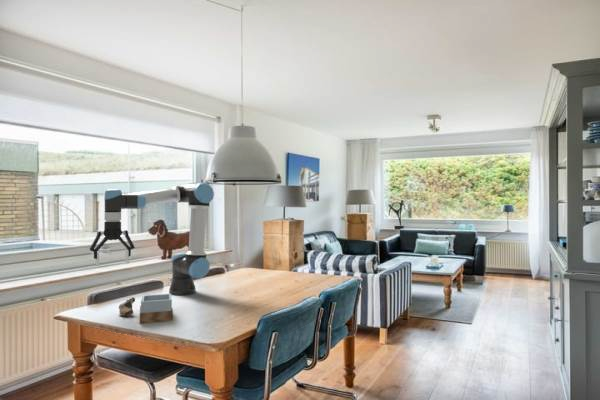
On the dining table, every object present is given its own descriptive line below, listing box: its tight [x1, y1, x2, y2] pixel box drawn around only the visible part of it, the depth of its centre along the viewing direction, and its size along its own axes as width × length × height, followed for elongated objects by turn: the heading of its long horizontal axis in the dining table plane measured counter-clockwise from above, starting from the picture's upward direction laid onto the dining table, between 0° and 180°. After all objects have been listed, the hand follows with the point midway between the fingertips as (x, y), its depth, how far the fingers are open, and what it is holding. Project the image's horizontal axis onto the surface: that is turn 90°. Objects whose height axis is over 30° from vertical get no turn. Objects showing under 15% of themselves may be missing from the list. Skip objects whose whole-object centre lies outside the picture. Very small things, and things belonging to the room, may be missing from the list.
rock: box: [118, 297, 136, 318], centre depth 199 cm, size 9×7×10 cm
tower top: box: [140, 293, 173, 313], centre depth 193 cm, size 13×13×5 cm
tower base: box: [139, 305, 174, 325], centre depth 193 cm, size 14×14×5 cm
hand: (112, 264), depth 205 cm, fingers open, 13 cm apart
